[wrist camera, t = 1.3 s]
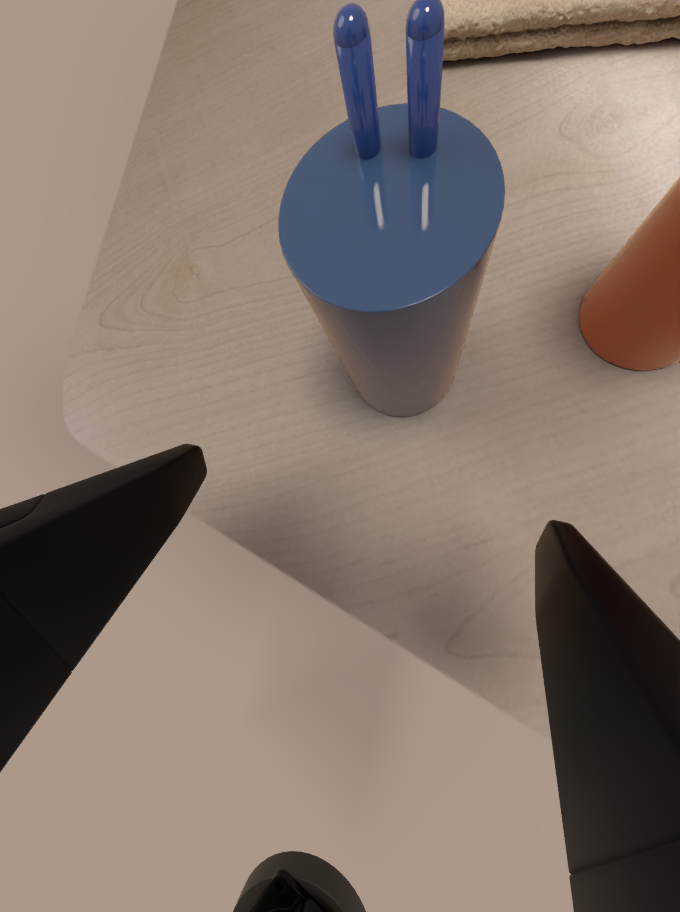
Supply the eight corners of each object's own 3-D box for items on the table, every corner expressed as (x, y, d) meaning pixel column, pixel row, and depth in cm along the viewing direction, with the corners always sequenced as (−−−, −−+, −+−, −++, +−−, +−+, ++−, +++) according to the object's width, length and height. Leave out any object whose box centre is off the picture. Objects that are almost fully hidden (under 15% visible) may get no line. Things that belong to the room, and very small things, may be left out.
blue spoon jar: (446, 423, 22) (519, 235, 6) (344, 409, 23) (197, 228, 8) (463, 322, 22) (567, -84, 7) (362, 315, 24) (256, -35, 8)
